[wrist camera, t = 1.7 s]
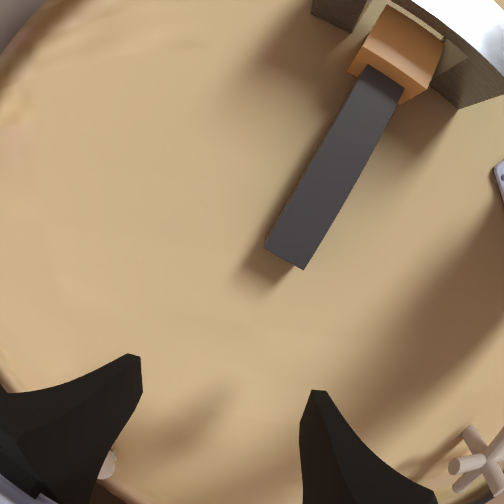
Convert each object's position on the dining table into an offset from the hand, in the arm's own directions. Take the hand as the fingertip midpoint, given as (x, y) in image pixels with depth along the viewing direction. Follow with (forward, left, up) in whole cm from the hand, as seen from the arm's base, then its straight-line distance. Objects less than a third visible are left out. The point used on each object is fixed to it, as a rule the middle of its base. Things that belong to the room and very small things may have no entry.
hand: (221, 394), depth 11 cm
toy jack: (-26, -13, -9) cm, 30 cm away
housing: (+11, -20, -8) cm, 24 cm away
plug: (+6, -11, -9) cm, 15 cm away
